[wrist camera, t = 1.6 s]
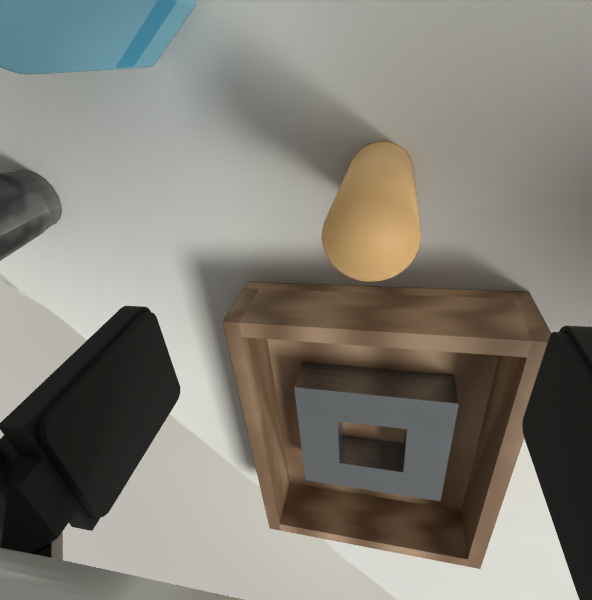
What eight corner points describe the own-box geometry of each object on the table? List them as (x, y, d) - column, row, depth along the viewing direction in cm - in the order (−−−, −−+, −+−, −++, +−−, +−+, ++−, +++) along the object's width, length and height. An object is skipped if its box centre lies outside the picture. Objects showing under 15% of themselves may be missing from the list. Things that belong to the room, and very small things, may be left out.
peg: (416, 139, 23) (425, 189, 14) (411, 206, 25) (417, 283, 16) (347, 142, 24) (319, 192, 15) (348, 207, 26) (324, 280, 17)
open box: (529, 291, 26) (556, 342, 21) (470, 509, 40) (480, 568, 35) (248, 281, 31) (222, 321, 26) (283, 479, 44) (269, 528, 40)
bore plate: (454, 374, 30) (458, 403, 27) (437, 470, 36) (440, 501, 34) (302, 361, 32) (294, 387, 30) (311, 452, 39) (305, 480, 36)
